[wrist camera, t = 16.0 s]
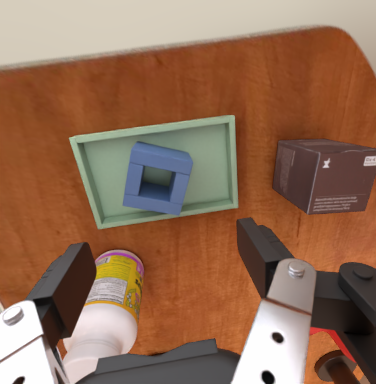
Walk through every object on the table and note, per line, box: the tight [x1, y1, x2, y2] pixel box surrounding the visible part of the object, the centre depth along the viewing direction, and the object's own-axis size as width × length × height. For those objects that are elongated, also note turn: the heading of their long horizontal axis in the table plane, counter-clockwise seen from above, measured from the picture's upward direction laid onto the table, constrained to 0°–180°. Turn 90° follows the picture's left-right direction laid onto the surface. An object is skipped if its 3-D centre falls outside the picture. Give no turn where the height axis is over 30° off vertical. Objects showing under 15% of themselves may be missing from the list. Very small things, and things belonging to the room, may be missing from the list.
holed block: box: [122, 141, 193, 216], centre depth 22 cm, size 6×6×4 cm
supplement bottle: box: [63, 250, 144, 384], centre depth 23 cm, size 7×7×13 cm
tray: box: [69, 115, 238, 229], centre depth 24 cm, size 16×10×2 cm, turn 97°
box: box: [273, 139, 376, 215], centre depth 23 cm, size 6×6×7 cm
